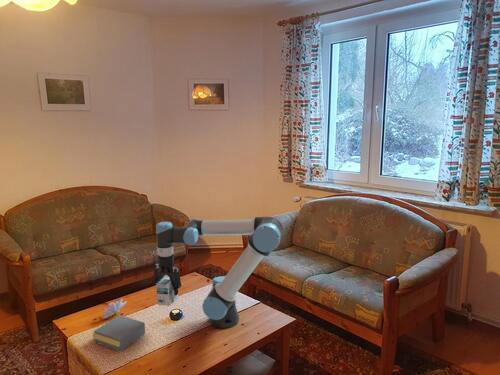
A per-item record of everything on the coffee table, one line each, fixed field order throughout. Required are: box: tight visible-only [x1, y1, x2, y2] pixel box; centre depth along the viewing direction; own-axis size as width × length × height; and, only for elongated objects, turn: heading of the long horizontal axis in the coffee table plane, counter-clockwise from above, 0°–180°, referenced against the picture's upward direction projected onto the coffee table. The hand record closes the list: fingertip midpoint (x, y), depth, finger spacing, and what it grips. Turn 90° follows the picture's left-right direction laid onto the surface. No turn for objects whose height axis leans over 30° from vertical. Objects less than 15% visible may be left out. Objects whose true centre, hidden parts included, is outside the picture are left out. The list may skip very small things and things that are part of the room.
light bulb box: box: [155, 274, 179, 307], centre depth 183 cm, size 11×7×11 cm, turn 168°
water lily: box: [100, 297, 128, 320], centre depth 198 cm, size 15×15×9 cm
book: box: [92, 314, 146, 352], centre depth 179 cm, size 16×17×6 cm
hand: (168, 299), depth 184 cm, fingers closed on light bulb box, 8 cm apart
